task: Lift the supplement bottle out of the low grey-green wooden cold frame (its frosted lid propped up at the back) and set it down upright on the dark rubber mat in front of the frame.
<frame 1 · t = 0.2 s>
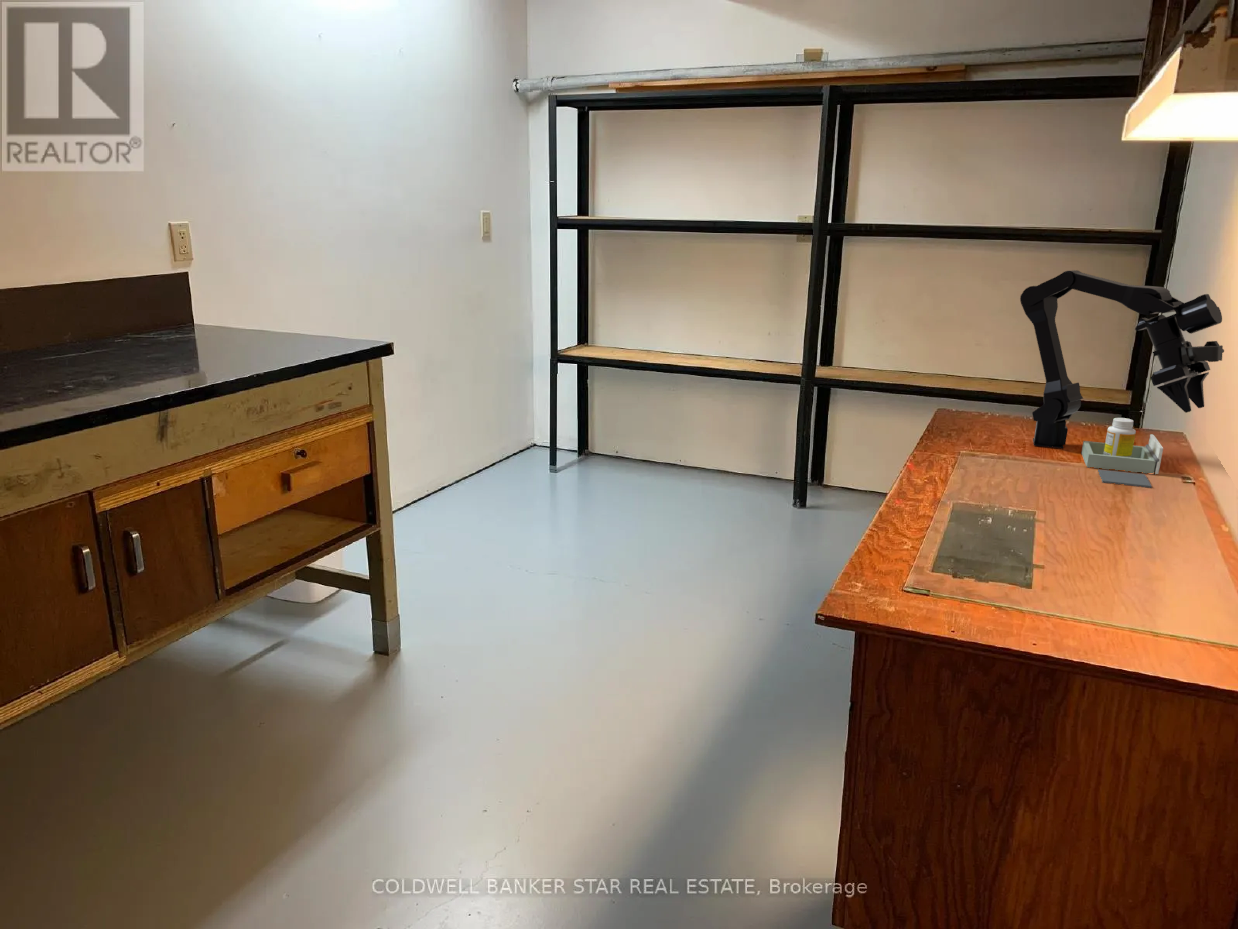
hand: (1195, 409, 184), 14 cm above the table, tool tilted 30°, fingers open, 9 cm apart
supplement bottle: (1115, 464, 195), resting in cold frame
mat: (1123, 479, 183), on the table
cold frame: (1115, 463, 195), on the table
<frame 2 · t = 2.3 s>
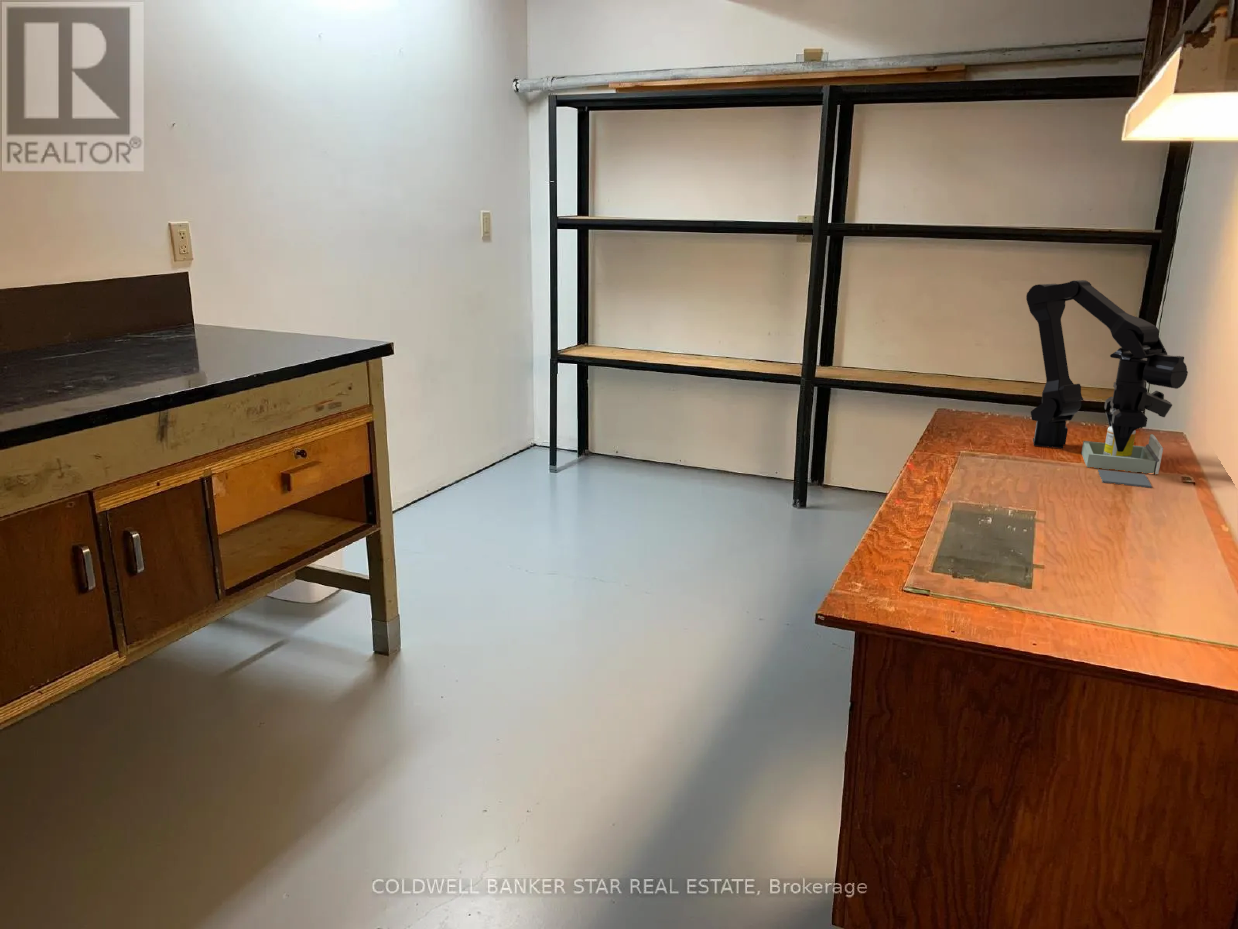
hand: (1118, 448, 194), 4 cm above the table, tool pointing down, fingers closed on supplement bottle, 6 cm apart
supplement bottle: (1115, 464, 195), resting in cold frame, touching gripper
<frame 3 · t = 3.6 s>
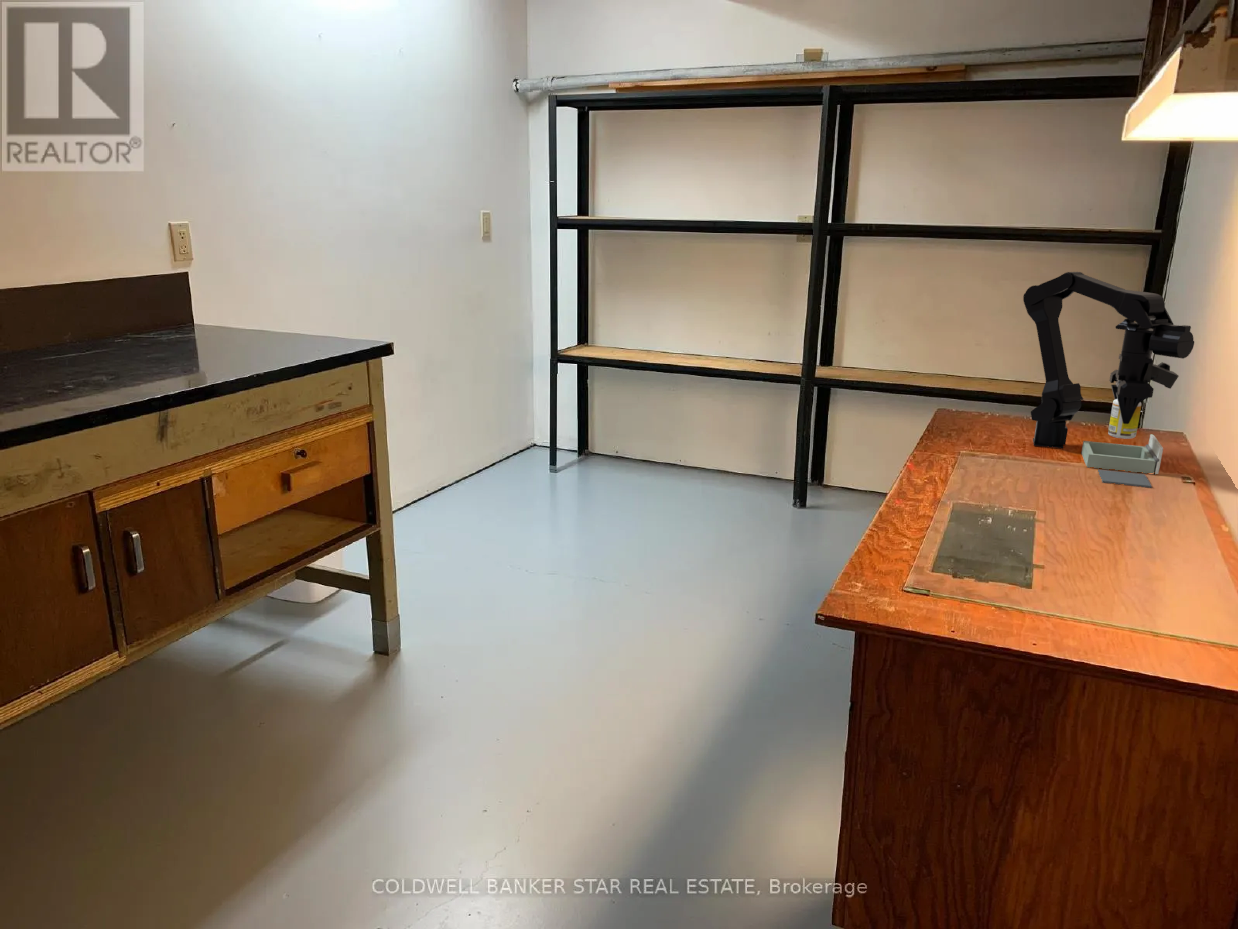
hand: (1124, 420, 192), 10 cm above the table, tool pointing down, fingers closed on supplement bottle, 5 cm apart
supplement bottle: (1121, 437, 193), point 6 cm above the table, touching gripper
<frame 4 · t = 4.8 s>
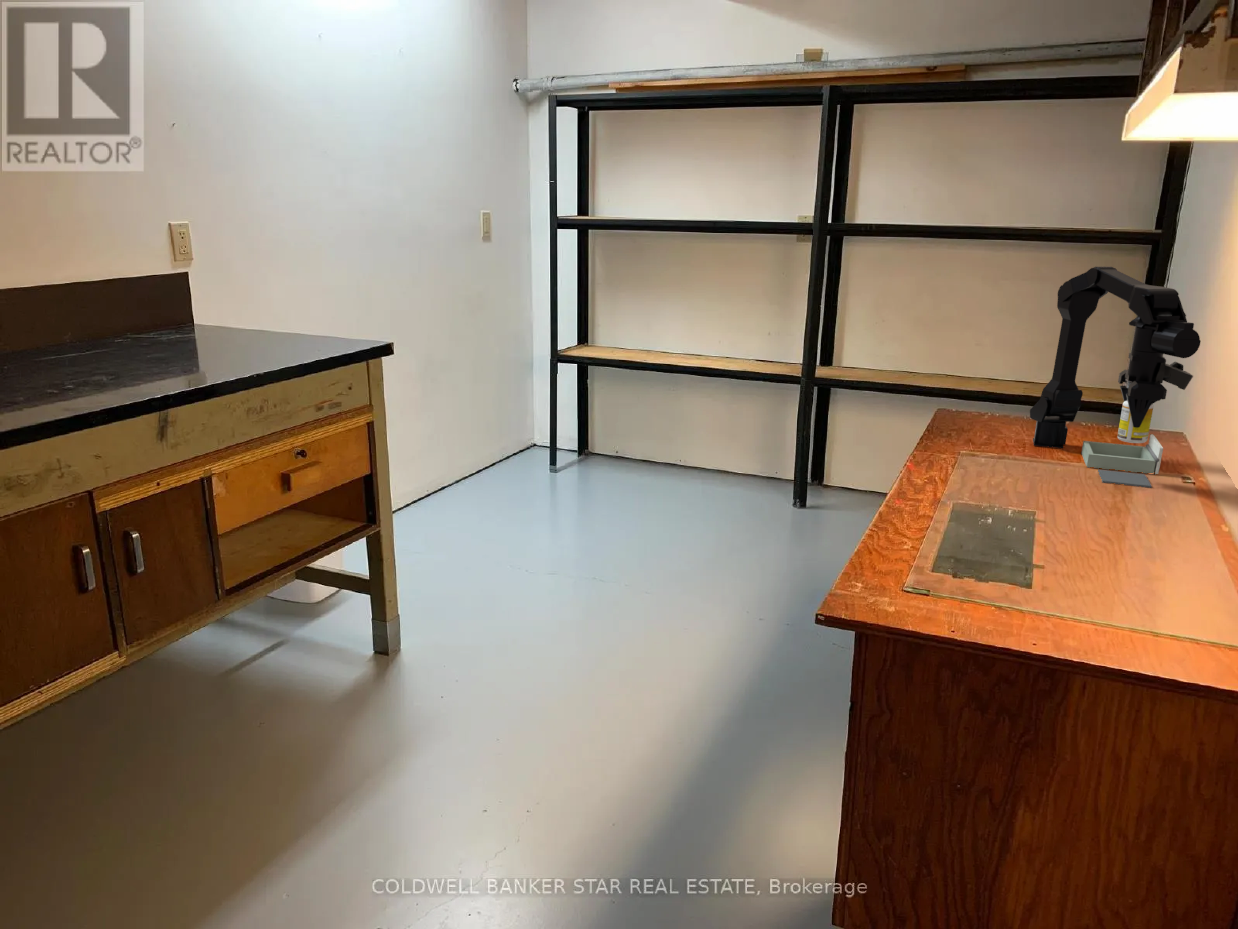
hand: (1134, 424, 180), 12 cm above the table, tool pointing down, fingers closed on supplement bottle, 5 cm apart
supplement bottle: (1131, 441, 181), point 8 cm above the table, touching gripper
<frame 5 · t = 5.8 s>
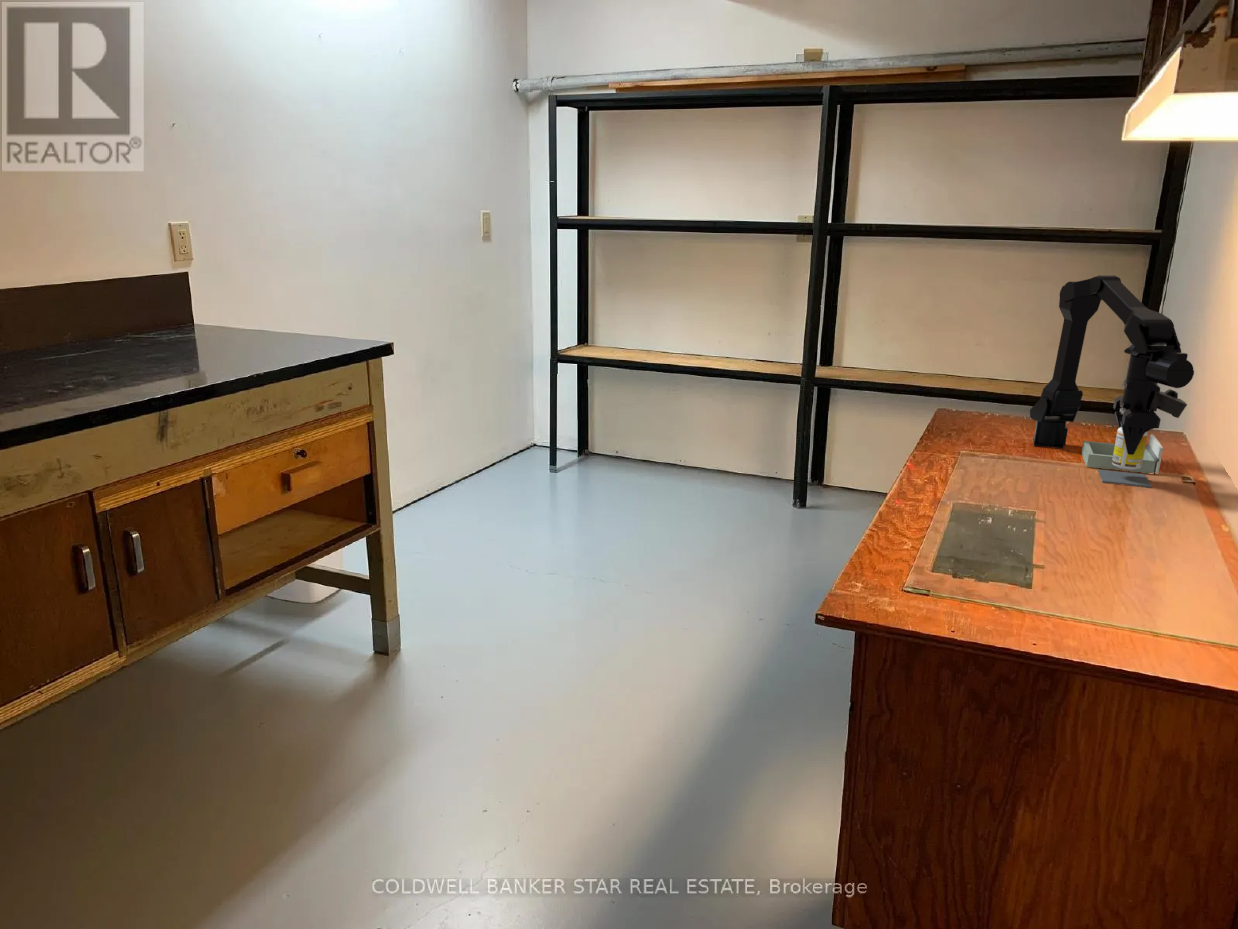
hand: (1128, 450, 182), 6 cm above the table, tool pointing down, fingers closed on supplement bottle, 5 cm apart
supplement bottle: (1125, 467, 183), point 3 cm above the table, touching gripper
when the fingers open (5 cm above the table, at t = 6.9 s): supplement bottle stays where it is, resting on mat.
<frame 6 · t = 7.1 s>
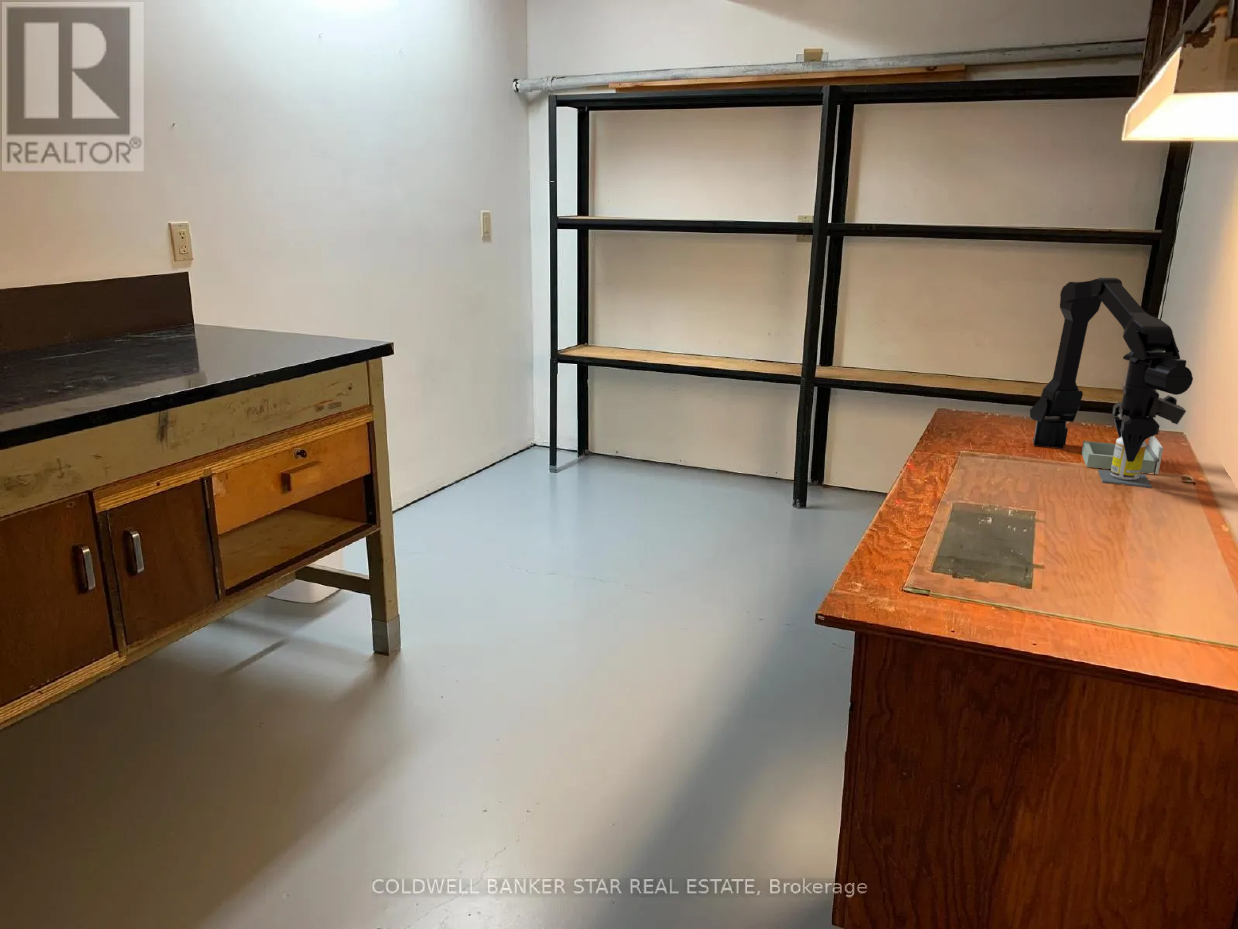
hand: (1127, 456, 182), 5 cm above the table, tool pointing down, fingers open, 7 cm apart
supplement bottle: (1124, 478, 183), resting on mat
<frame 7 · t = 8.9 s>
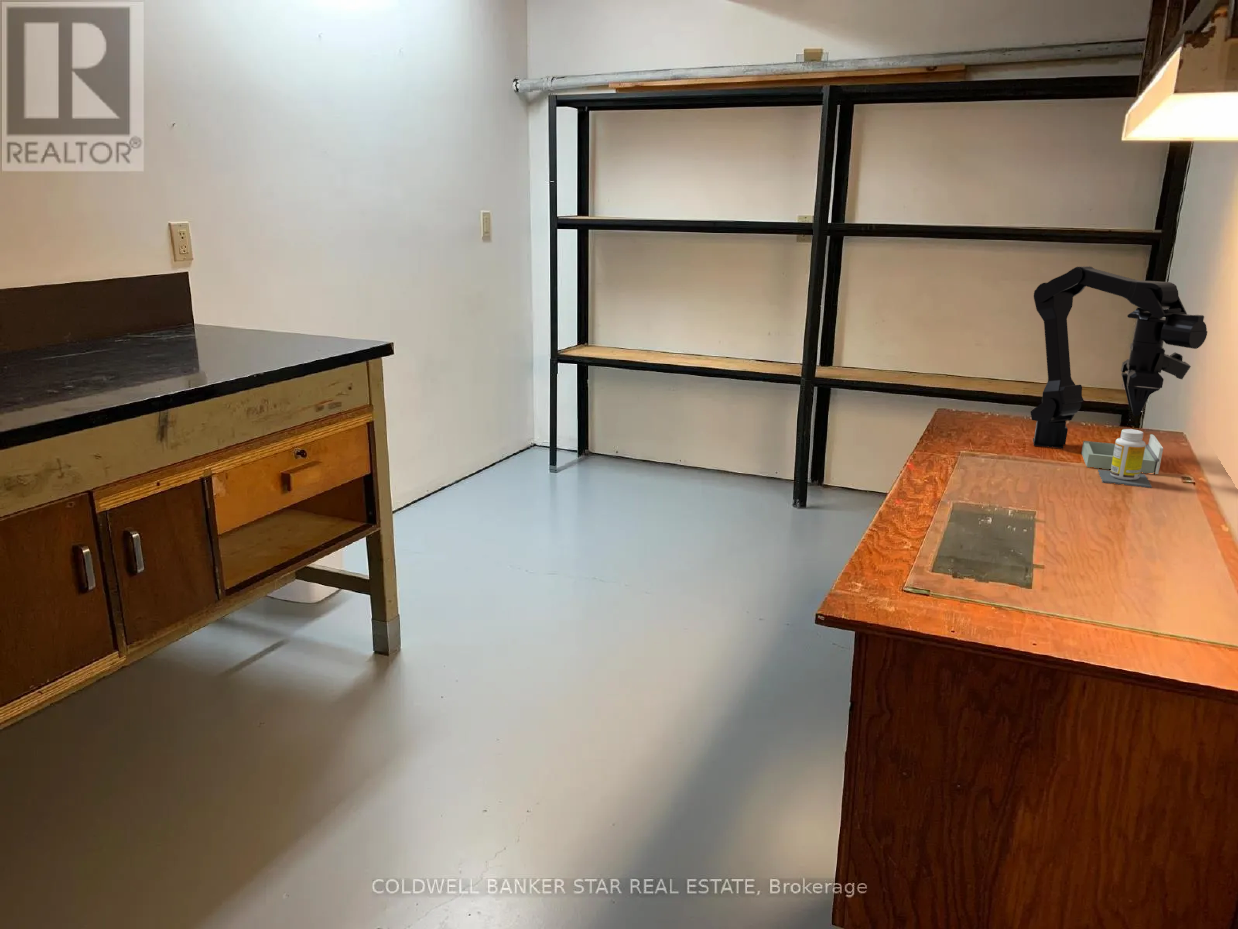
hand: (1133, 411, 190), 13 cm above the table, tool pointing down, fingers open, 9 cm apart
nothing on the table moved.
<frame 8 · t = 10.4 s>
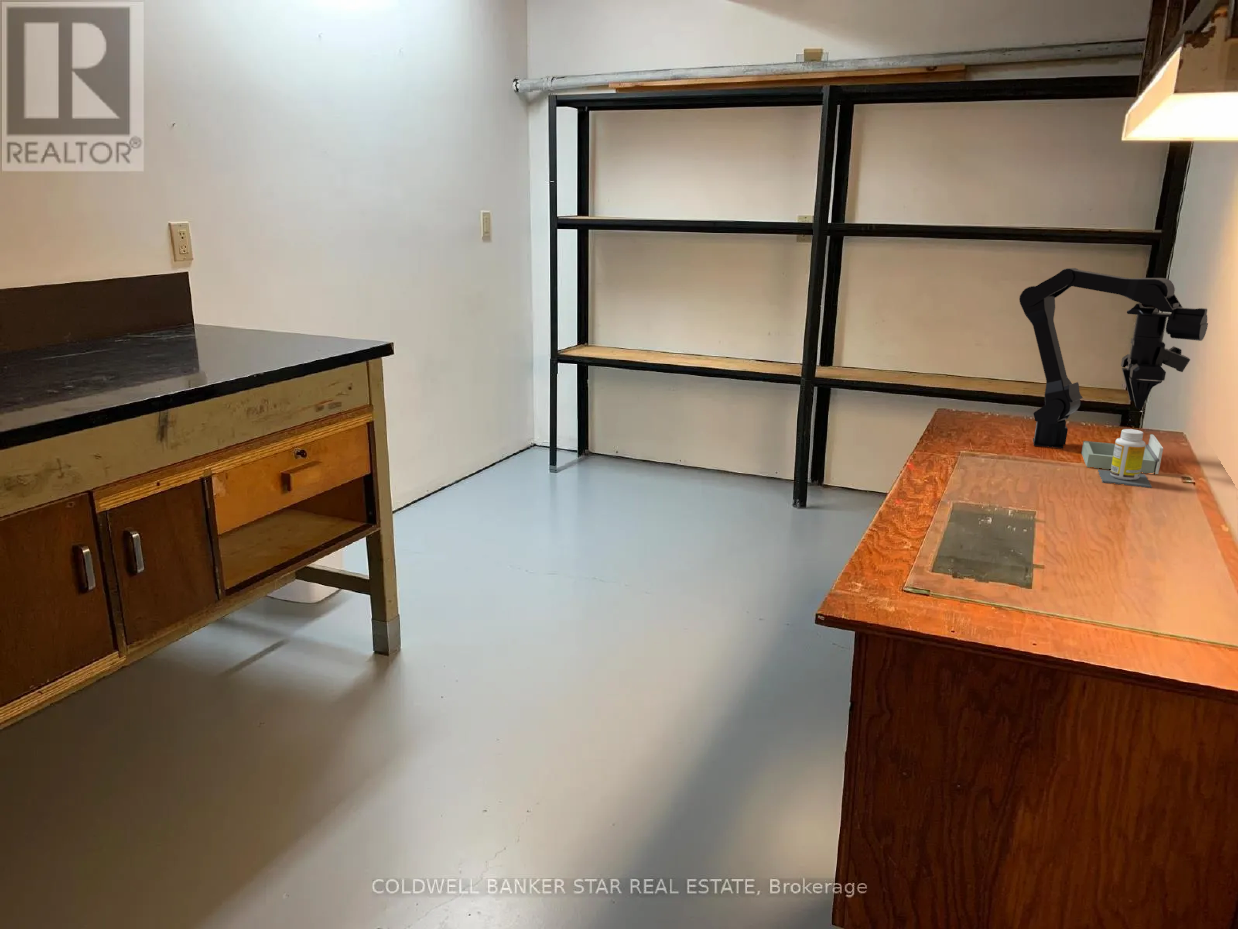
hand: (1135, 404, 195), 13 cm above the table, tool pointing down, fingers open, 9 cm apart
nothing on the table moved.
at the end: supplement bottle inside the target area on the mat (0.1 cm from its centre), point 0.2 cm above the mat's base; supplement bottle tilted 0°; the gripper is holding nothing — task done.
